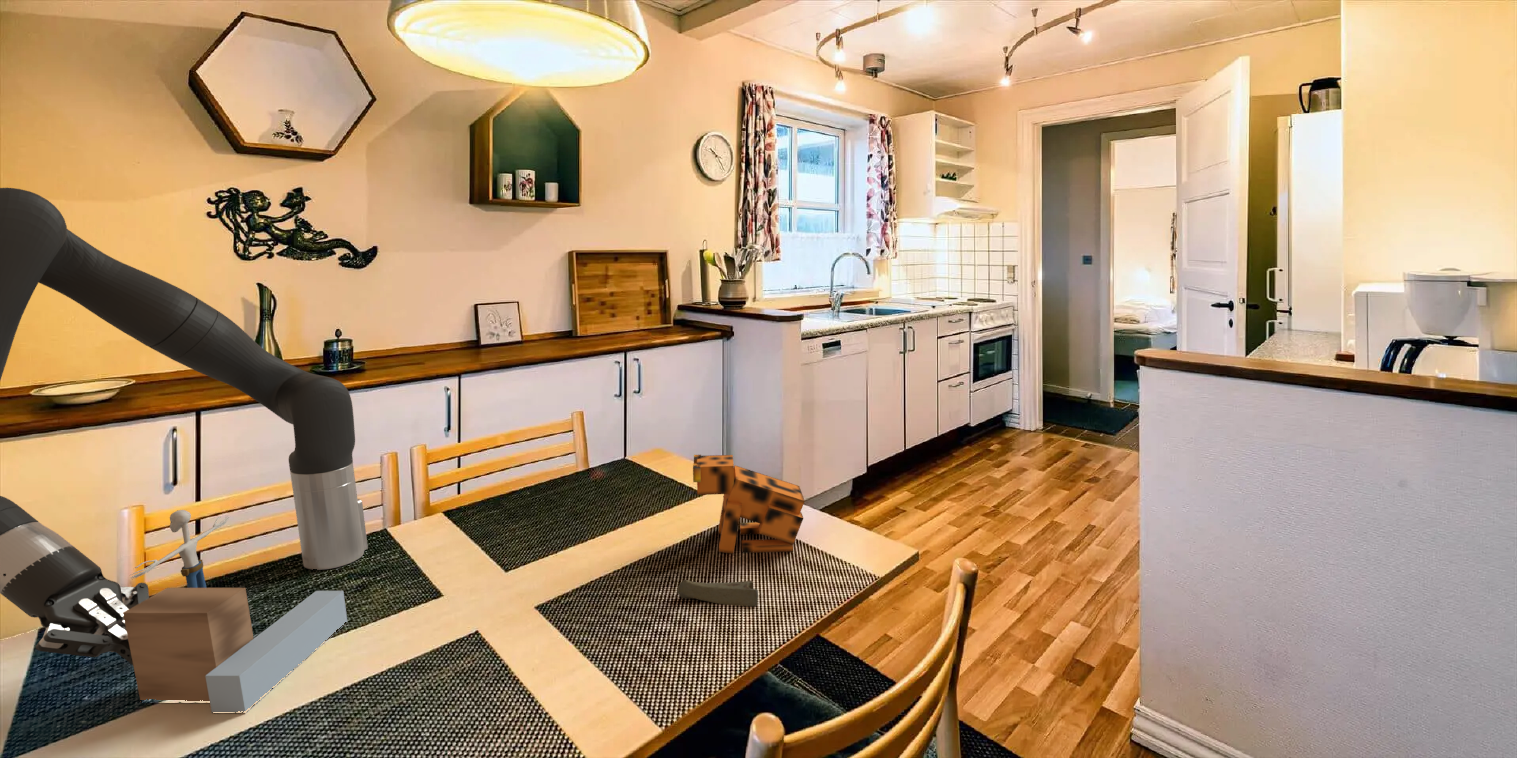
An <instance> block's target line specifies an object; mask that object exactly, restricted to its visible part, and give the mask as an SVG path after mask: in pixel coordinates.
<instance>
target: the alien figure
mask: <svg viewBox="0 0 1517 758" xmlns="http://www.w3.org/2000/svg"><path fill="white" fill-rule="evenodd" d="M221 517H222V515H220V516H217V518H216V519H215V522H214V523H213V525H212V527H211V528H209V529H207V530H206V531H204V532H202V533H201V534H199V535H197V536H195V537H193V538H191V536H190V529H189V524H188V523H189V522H190V520H191V519H192V514H191V512H189V511H187V509H186V510H185V509H179V510H176V511H173V512H172V513H171V514H170V515H169V521H170V523H169V529H170V531H171V532H172V533H177V532H179V530H182V538H183V542H184V543H183V542H182V544H181V545H179V547H178V548H176V549H175V550H173V551H171V552H169V553H168V554H166V555H164V557H161V558H160V559H159V560H157V559H153V560H146V561H144V562H141V563H139V564H138V565H137V566H135V567H134V569H138V568H139V567H140V566H142V565H144V564H147V563H151V564H150V565H148V566H147V567H144V568H142V569H139V570H138V571H135V572H133V573H131V574H130V580H133V579H137V578H139V577H141V576H143V575H145V574H146V573H149V572H150V571H152V570H154V569H155V568H156V567H157V566H159V565H160V564H161V563H164V562H166V561H168V560H170V559H172V558H174V557H175V556H176V555H179V556H180V558H181V560H182V561H183V566H182V567H181V569H180V574H181V576H182V577H185V581H186V586H187V587H186V588H207V583H206V579H205V574H204V562H203V559H199V557H198V555H197V546H198V542H199V541H200V540H203V538H206V537H207V536H208V535H209V534H211V532H213V531H215V530H217V529H219V528H221V527H222V526H224V525H225V524H226V523H227V521H228V520H229V519H230V518H231V516H229V515H227V516H225V518H224V519H223V520H222V521H220V522H218V519H220V518H221ZM217 522H218V523H217Z"/></svg>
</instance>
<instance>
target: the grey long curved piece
mask: <svg viewBox="0 0 1517 758" xmlns="http://www.w3.org/2000/svg"><path fill="white" fill-rule="evenodd" d="M676 591H677V594H678V595H679V596H680V598H681V599H686V600H687V599H695V600H699V601H705V602H708V603H709V602H710V603H713V604H718V605H725V606H726V605H727V606H737V607H738V606H739V607H757V605H758V600H759V590H758V589H757V588H754V581H753V580H745V581H744V580H743V581H734V582H733V581H732V582H731V581H730V582H697V581H691V580H688V579H684V580H682V581H681V582H680V583H679V584H678V586H677V589H676Z"/></svg>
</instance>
